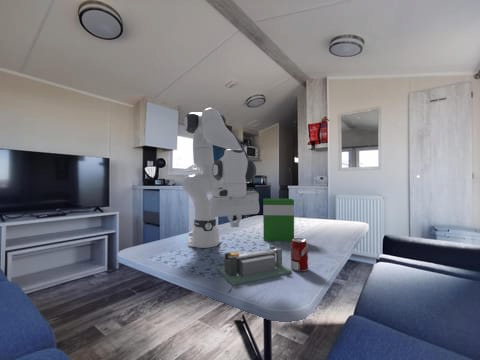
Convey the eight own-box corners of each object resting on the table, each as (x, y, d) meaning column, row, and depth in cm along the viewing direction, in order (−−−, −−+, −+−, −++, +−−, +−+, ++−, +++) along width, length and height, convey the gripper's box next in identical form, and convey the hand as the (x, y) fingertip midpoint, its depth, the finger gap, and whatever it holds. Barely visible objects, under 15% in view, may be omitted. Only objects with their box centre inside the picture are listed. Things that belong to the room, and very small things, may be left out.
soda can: (297, 273, 93) (297, 242, 92) (287, 267, 99) (287, 238, 99) (311, 270, 95) (311, 240, 95) (300, 265, 102) (300, 236, 101)
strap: (227, 257, 93) (227, 252, 93) (274, 250, 102) (274, 246, 102) (230, 260, 90) (230, 255, 90) (279, 252, 99) (279, 248, 99)
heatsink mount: (217, 269, 98) (217, 249, 97) (269, 259, 108) (269, 242, 108) (232, 285, 83) (232, 262, 83) (291, 272, 94) (291, 252, 94)
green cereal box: (263, 240, 141) (263, 199, 140) (263, 237, 148) (263, 198, 148) (294, 241, 139) (294, 199, 138) (292, 238, 146) (292, 198, 146)
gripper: (254, 189, 99) (254, 223, 99) (207, 191, 90) (207, 227, 91) (262, 190, 93) (262, 226, 94) (212, 192, 85) (212, 231, 85)
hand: (234, 226), depth 92 cm, fingers closed
